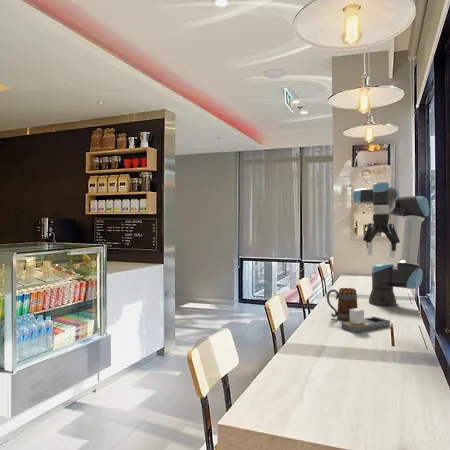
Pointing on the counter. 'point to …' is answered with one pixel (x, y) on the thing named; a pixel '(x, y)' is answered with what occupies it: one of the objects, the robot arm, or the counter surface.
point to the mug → (344, 302)
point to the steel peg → (357, 316)
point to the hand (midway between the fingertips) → (380, 256)
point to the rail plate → (366, 325)
